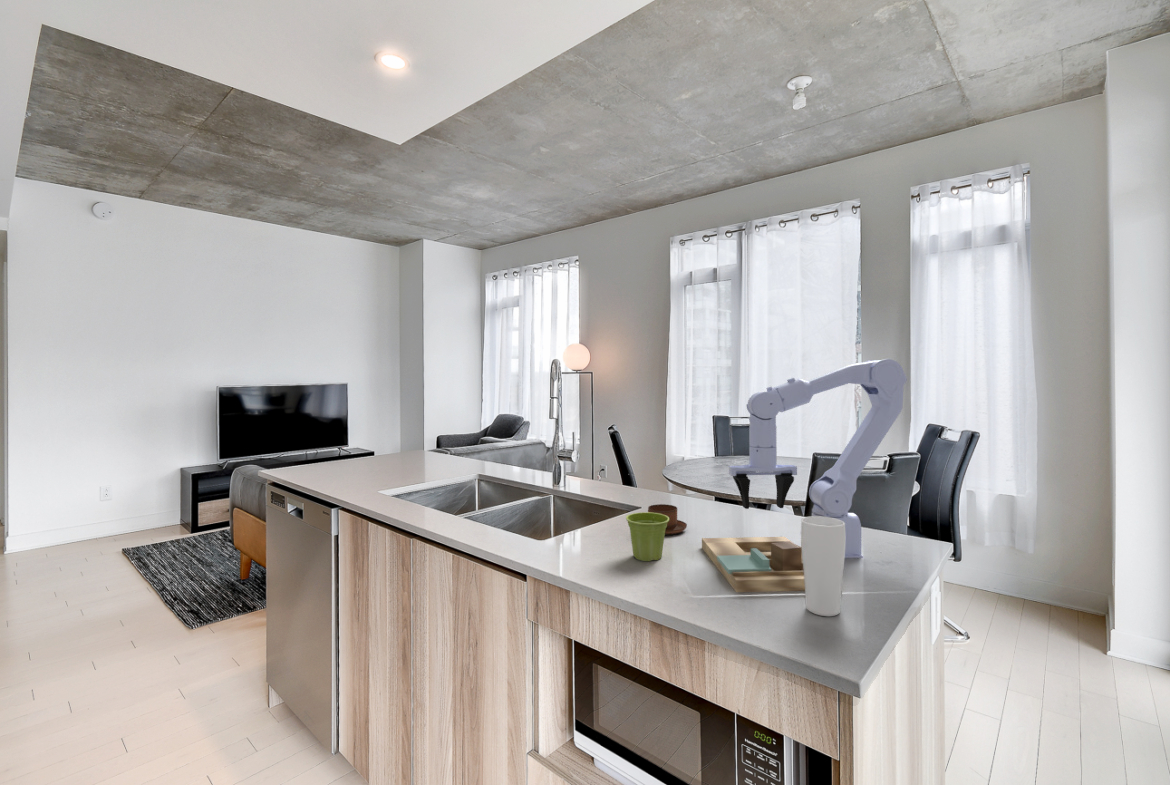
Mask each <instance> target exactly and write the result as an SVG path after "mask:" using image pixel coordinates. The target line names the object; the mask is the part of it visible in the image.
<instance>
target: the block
mask: <svg viewBox="0 0 1170 785" xmlns="http://www.w3.org/2000/svg"><path fill="white" fill-rule="evenodd" d="M771 568H772V569H773V570H774V571H801V570H802V550H801V546H800V545H797V544H795V543H794V542H793V543H792V541H791V542H789V541H787V542H776V543H771Z"/></svg>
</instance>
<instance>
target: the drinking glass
mask: <svg viewBox="0 0 1170 785" xmlns="http://www.w3.org/2000/svg"><path fill="white" fill-rule="evenodd" d="M800 521H801V524H800V545H801V546H800V547H801V550H802V561H803V572H804V583H805V591H804V593H805V608H806V609H807V610H808V611H809V612H810V613H812V614H814V615H817V616H819V617H820V616H822V617H836V616H838V615H839V614H840V613H841V606H842V605H841V604H842V603H841V600H842V589H843V588H842V587H843V578H844V570H845V569H844V568H845V560H846V558H845V543H846V537H845V523H844V522H843V521H841V520H839V519H835V518H830V517H822V516H812V515H811V516H806V517H803V518H801V520H800Z"/></svg>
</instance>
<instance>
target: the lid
mask: <svg viewBox="0 0 1170 785" xmlns="http://www.w3.org/2000/svg"><path fill="white" fill-rule="evenodd" d="M717 560H718V561H719V563H720V564H721V565H722V566H723V568H724V569H725V570H726V571H727V572H728V574H732V572H753V571H771V568H770V567H769V559H768V558H767V557H766V556H765V555H764V554H762V553H761V552H760V551H759V550H758V549H757V548H751V555H727V556H717Z"/></svg>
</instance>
